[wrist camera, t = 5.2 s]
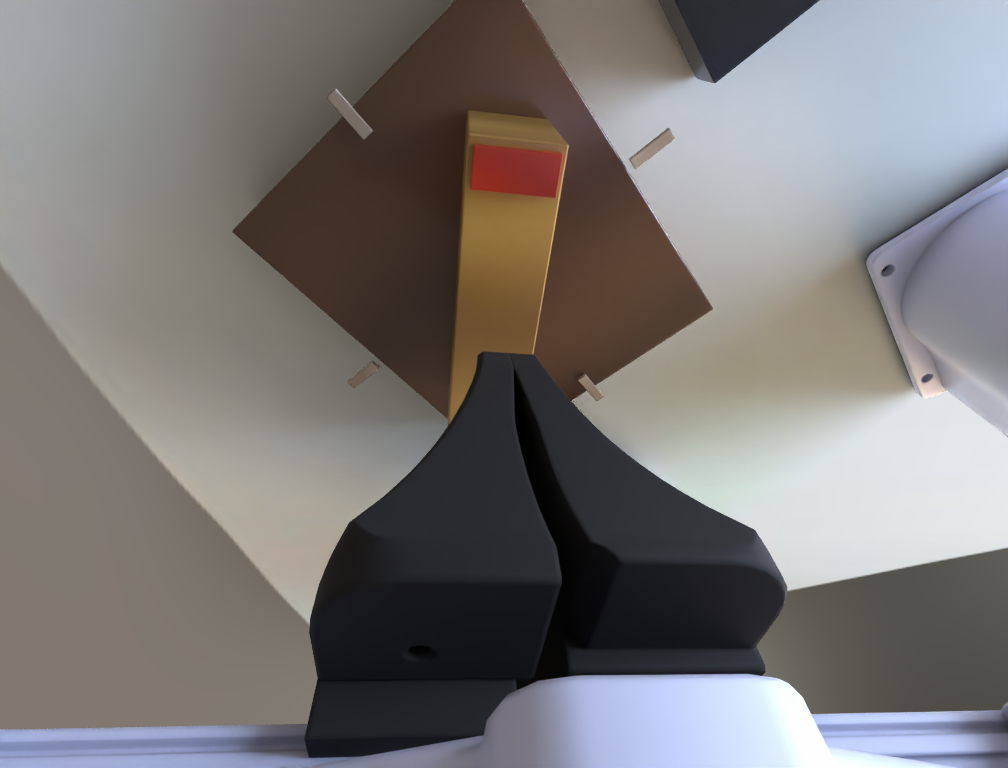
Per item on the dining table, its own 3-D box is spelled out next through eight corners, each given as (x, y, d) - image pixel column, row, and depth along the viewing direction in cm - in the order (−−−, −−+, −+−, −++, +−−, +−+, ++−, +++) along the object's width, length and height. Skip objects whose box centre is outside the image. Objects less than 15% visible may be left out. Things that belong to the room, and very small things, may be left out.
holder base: (732, 269, 21) (762, 297, 19) (469, 442, 26) (469, 481, 24) (522, -101, 14) (533, -122, 12) (215, 224, 19) (182, 250, 17)
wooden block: (508, 392, 21) (516, 461, 18) (448, 389, 21) (446, 458, 17) (548, 119, 15) (571, 146, 12) (467, 109, 15) (467, 134, 12)
